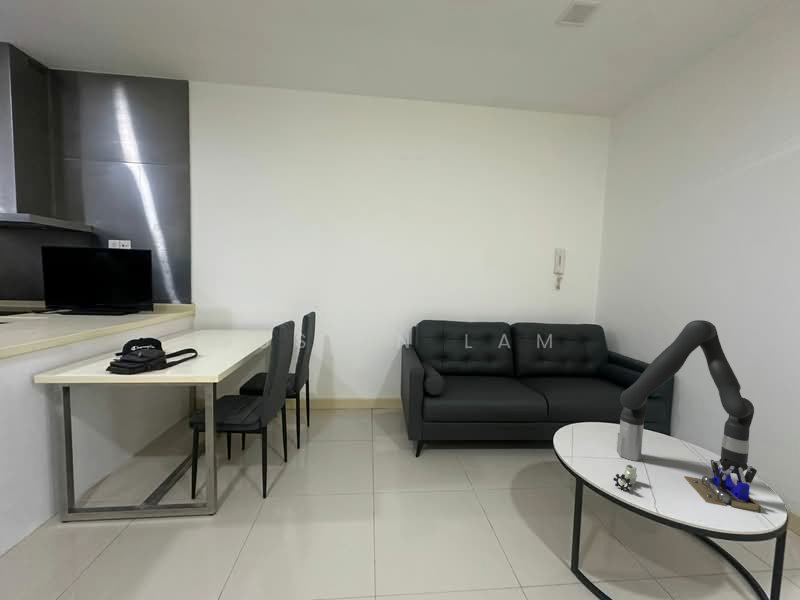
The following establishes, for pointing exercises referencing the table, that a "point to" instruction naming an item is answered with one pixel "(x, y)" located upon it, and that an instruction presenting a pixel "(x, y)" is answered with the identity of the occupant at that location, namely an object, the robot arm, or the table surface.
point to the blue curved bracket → (735, 487)
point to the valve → (627, 478)
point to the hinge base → (720, 494)
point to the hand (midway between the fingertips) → (730, 489)
